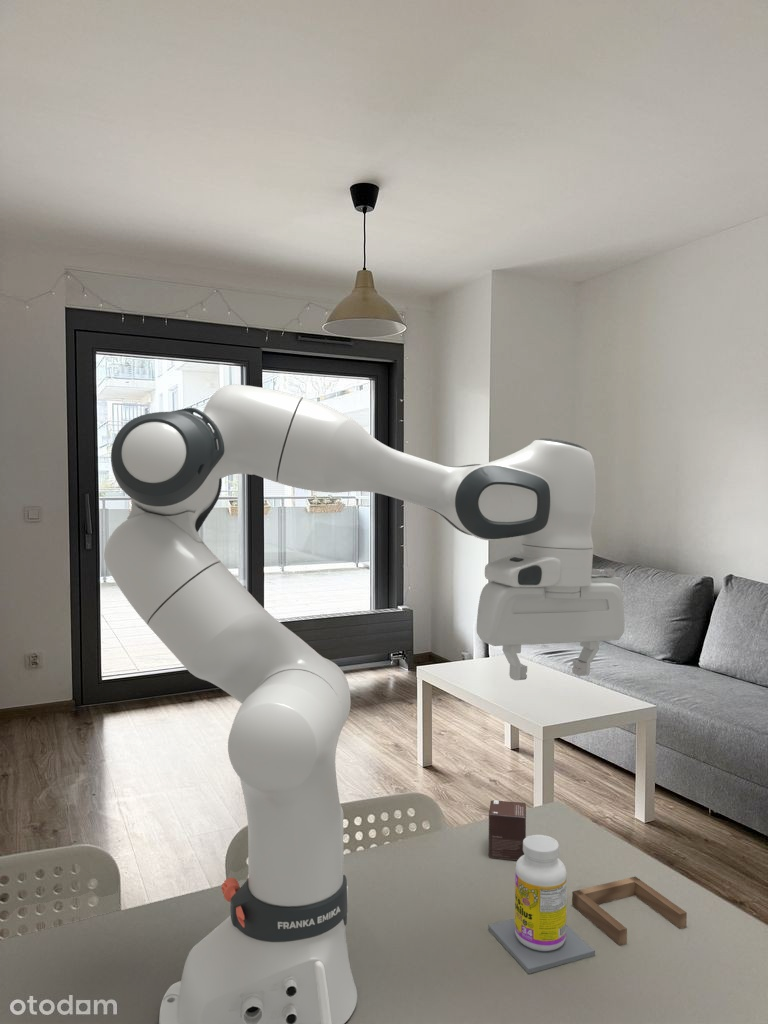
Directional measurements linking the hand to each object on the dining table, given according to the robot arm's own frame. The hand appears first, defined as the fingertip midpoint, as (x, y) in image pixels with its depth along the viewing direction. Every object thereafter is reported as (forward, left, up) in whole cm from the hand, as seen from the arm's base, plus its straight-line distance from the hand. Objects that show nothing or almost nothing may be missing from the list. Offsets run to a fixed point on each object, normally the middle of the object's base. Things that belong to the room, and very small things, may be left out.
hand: (549, 676), depth 93 cm
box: (+10, +26, -37) cm, 46 cm away
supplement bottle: (+1, +3, -36) cm, 36 cm away
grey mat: (+1, +3, -36) cm, 36 cm away
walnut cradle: (+16, +3, -36) cm, 40 cm away
